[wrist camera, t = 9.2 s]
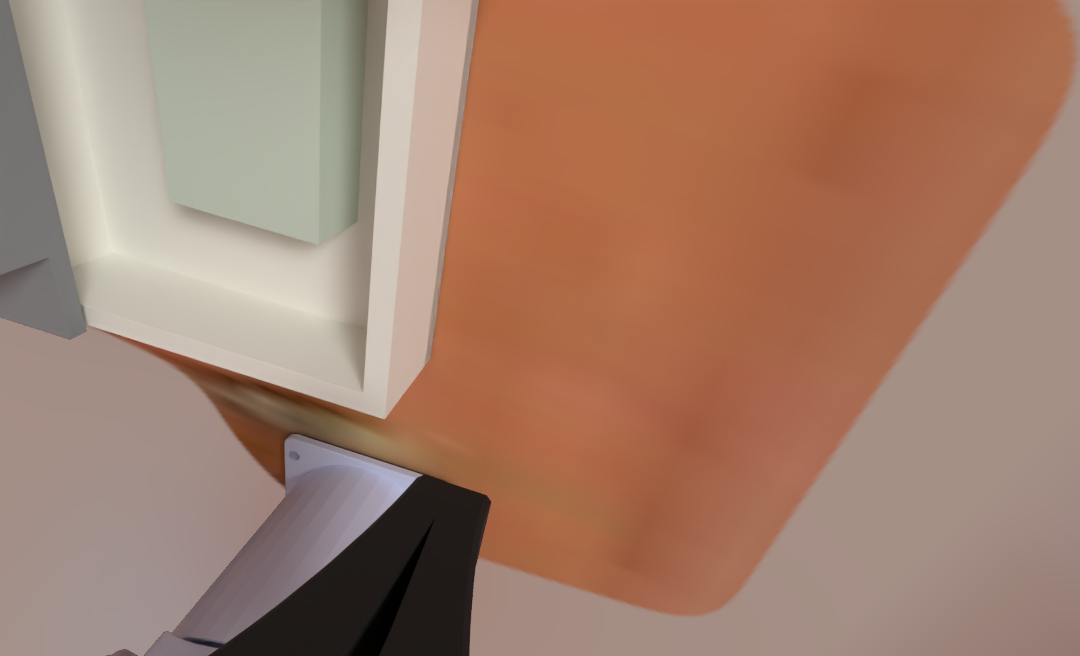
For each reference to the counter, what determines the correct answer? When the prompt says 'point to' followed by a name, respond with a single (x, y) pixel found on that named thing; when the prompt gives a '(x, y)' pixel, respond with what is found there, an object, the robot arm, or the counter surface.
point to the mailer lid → (29, 209)
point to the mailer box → (257, 177)
